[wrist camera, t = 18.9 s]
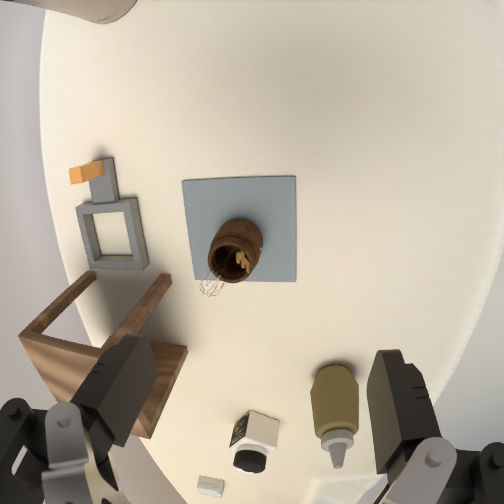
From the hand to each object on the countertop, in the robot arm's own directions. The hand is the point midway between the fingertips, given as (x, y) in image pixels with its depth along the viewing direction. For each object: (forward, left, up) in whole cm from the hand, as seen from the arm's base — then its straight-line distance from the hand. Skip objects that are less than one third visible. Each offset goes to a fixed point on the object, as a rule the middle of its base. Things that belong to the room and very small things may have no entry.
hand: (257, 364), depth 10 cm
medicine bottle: (+48, -6, -29) cm, 56 cm away
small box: (+91, -22, -29) cm, 98 cm away
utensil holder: (+7, -6, -28) cm, 30 cm away
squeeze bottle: (+32, +8, -29) cm, 44 cm away
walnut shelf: (+20, -25, -29) cm, 43 cm away
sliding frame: (+3, -25, -28) cm, 38 cm away
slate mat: (+6, -6, -29) cm, 30 cm away
